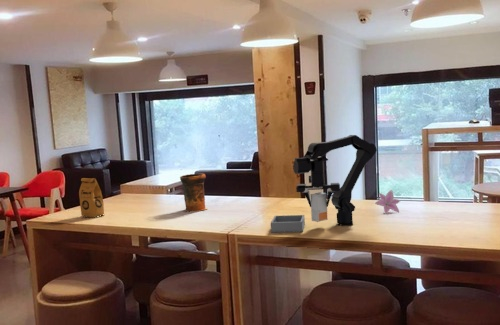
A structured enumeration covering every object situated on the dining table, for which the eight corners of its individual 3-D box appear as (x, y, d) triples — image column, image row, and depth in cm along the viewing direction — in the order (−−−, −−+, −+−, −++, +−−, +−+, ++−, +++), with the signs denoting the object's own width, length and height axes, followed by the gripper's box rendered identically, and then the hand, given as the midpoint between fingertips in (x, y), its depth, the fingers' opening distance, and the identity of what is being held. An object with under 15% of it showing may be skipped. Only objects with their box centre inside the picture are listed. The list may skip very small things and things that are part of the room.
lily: (371, 215, 232) (376, 199, 226) (374, 201, 241) (379, 186, 236) (396, 222, 229) (401, 207, 224) (398, 208, 238) (403, 193, 233)
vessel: (196, 213, 258) (192, 176, 257) (177, 211, 267) (174, 176, 266) (213, 208, 270) (210, 173, 268) (195, 207, 279) (192, 173, 277)
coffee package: (93, 219, 261) (89, 179, 259) (79, 217, 268) (75, 179, 266) (107, 215, 269) (103, 176, 267) (93, 213, 276) (89, 176, 274)
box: (304, 224, 216) (304, 214, 216) (302, 232, 203) (302, 221, 203) (275, 225, 219) (274, 215, 218) (271, 232, 206) (270, 222, 205)
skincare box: (318, 222, 205) (316, 195, 204) (311, 220, 209) (309, 194, 208) (328, 219, 209) (326, 193, 208) (321, 218, 212) (319, 192, 211)
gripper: (339, 168, 213) (340, 202, 215) (297, 170, 216) (299, 203, 218) (339, 171, 202) (340, 207, 204) (295, 173, 206) (297, 208, 207)
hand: (319, 206), depth 208 cm, fingers closed on skincare box, 7 cm apart
